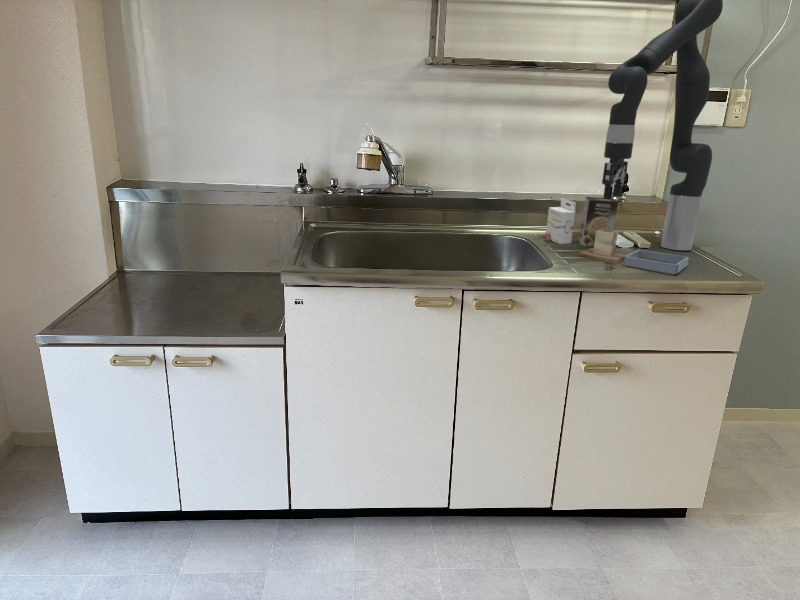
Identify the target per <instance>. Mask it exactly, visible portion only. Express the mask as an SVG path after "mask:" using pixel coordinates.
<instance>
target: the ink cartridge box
mask: <svg viewBox="0 0 800 600" xmlns="http://www.w3.org/2000/svg"><path fill="white" fill-rule="evenodd" d="M567 204H568V205H567ZM576 205H577V203H576V202H575V201H572V200H569V199H565V198H563V197H562V198H560V206H554V207H553V206H552V207H551V206H550V207H548V213H547V221H546V229H545V236H544V239H546V238H547V239H546V240H548V241H551V240H552V242H554V243H557V244H559V245H565V244H571V243H572V238H573V233H574V232H573V231H574V224H575V219H576V209H577V208H576Z"/></svg>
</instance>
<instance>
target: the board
mask: <svg viewBox="0 0 800 600" xmlns="http://www.w3.org/2000/svg"><path fill="white" fill-rule="evenodd" d="M593 250H594V247H590V248H587V249H585V250H582V251H580V252H578V253H577V254H576V257H580V258H584V259H590V260H593V261H600V262H604V263H609V264H616V265H618V264H619V263H621V262H624V258H625V256H626V255H628V254H629V253H627V252H622V251H621V252H620V251H615V254H613V255H611V256H605V255H599V254H593Z"/></svg>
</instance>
